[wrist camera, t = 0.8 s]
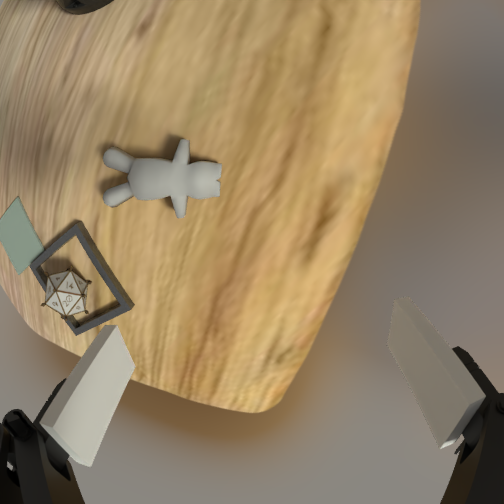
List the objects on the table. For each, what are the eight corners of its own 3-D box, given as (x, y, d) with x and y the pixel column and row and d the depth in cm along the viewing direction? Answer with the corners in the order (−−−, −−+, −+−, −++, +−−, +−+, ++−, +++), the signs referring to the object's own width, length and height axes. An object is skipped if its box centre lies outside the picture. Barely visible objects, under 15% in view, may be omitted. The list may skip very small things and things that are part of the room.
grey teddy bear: (217, 223, 32) (97, 218, 30) (218, 212, 37) (111, 209, 35) (223, 140, 29) (97, 141, 27) (223, 141, 34) (112, 141, 32)
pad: (-5, 227, 37) (-6, 227, 36) (18, 196, 35) (17, 197, 34) (19, 274, 40) (18, 275, 40) (45, 249, 38) (43, 250, 38)
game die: (86, 262, 43) (65, 248, 33) (108, 305, 42) (89, 301, 33) (49, 287, 40) (22, 278, 31) (69, 330, 39) (44, 331, 30)
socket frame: (34, 262, 39) (29, 265, 38) (81, 221, 36) (76, 223, 35) (79, 331, 44) (76, 335, 42) (134, 304, 41) (131, 309, 40)
